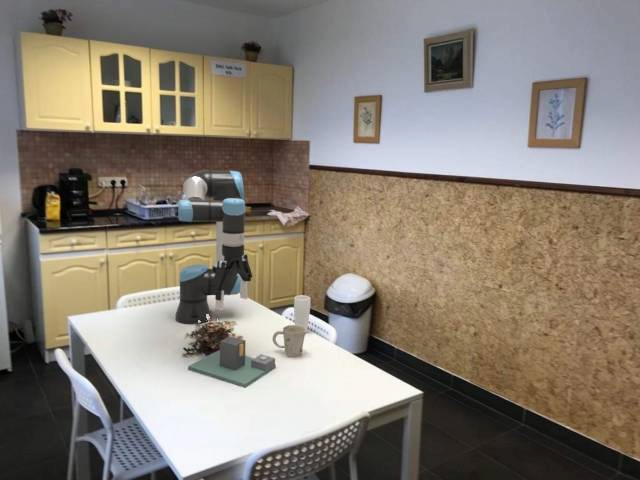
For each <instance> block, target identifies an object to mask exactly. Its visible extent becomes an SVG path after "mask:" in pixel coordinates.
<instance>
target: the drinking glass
mask: <svg viewBox="0 0 640 480" xmlns="http://www.w3.org/2000/svg"><path fill="white" fill-rule="evenodd" d="M293 311H294V312H293V313H294V325H299V326H303V327H304V328H305V334H306V333H308V329H309V320H310V319H309V318H310V313H311V312H310V311H311V297H310V296H308V295H304V294H303V295H302V294H301V295H295V297H294V301H293Z"/></svg>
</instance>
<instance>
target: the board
mask: <svg viewBox="0 0 640 480" xmlns="http://www.w3.org/2000/svg"><path fill="white" fill-rule="evenodd" d="M276 368H277V364H276V358H275V357H272V356H269V355H265V354H262V353H260V354H259V355H257V356H256V357H251V356H248V355H245V365H244V366H242V367H240V368H239V369H237V370H231V369H228V368H225V367H222V366H220V349H219V350H216V351H215V352H213V353H211V354H209V355H207V356H205V357H202V358H201V359H199V360H197V361H195V362H193V363H192V364H189V365H188V366H187V370H189V371H192V372H194V373H198V374H201V375H205V376H208V377H211V378H214V379H218V380H220V381H223V382H227V383H229V384H230V383H231V384H233V385H236V386H239V387H243V388H247V387H248V386H250V385H251V384H253V383H255V382H256V381H257V380H259V379H261V378H262V377H264V376H265V375H267V374H268V373H269V372H271V371H273V370H274V369H276Z"/></svg>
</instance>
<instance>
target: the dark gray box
mask: <svg viewBox="0 0 640 480" xmlns="http://www.w3.org/2000/svg"><path fill="white" fill-rule="evenodd" d="M246 343H247V342H246V340H245V339H243V338H238V337H234V336H230V335H229V336H228V337H226V338H223V339H222V340H219V350H220V366H222V367H225V368H228V369H231V370H237V369H239V368H240V367H242V366H244V365H245V356H246Z"/></svg>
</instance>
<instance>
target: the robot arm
mask: <svg viewBox="0 0 640 480" xmlns="http://www.w3.org/2000/svg"><path fill="white" fill-rule="evenodd" d="M244 189H245V187H244V182H243V175H242V173H241V172H239V171H237V170H236V171H235V170H212V169H211V170H209V169H205V170H204V169H203V170H202V169H201V170H199V171H195V172H193V173H192V174H190V175H189V176H187V178H186V179H185V180H184V182H183V185H182V190H183V193H184V199H180V200H179V201H178V205H177V206H178V207H177V208H178V210H177V211H178V214H177V215H178V220H179V221H181V222H187V223H190V222H191V223H193V222H199V223H200V222H205V223H206V222H207V223H209V222H210V223H211V222H212V223H216V230H215V231H216V234H215V235H216V236H215V237H216V240H215V243H216V249H215V250H216V251H215V253H216V254H215V262H214V263H212V268H208V265H206V264H191V265H188V266H185V267H183V268H182V269H181V270H180V271H179V279H178V281H179V303H178V306H177V309H176V312H175V321H176V322H178V323H182V324H187V325H198V324H197V323H198V320H200V321H201V323H200V324H204V323H206V320H207V318H206V314H209V316H210V317H211V318H212V312H211V310H210V306H209V303H208V296H215V297H214V299H215V309H218V310H221V311H222V310H224V309H225V308H224V307H225V306H224V305H225V303H224V301H225V298H224V297H225V296H233V295H238V294H239V299H244V300H247V299H248V297H249V296H248V292H249V291H248V290H249V282H251V281H252V278H253V273H252V271H251V266H250V264H249V259H248V254H245V245H244V243H245V224H246V223H245V222H246V220H245V219H246V211H247V210H246V201H245V200H244V198H245V190H244ZM211 199H212V200H211Z"/></svg>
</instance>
